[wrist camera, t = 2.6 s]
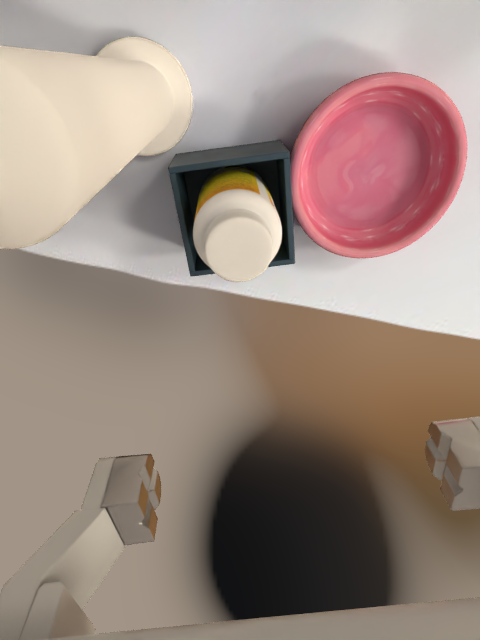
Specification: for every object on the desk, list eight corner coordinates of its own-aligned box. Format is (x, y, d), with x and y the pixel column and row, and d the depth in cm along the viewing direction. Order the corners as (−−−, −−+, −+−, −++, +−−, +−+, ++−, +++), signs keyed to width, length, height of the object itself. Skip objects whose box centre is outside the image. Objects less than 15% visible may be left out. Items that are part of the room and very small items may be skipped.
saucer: (295, 65, 27) (302, 65, 24) (472, 78, 27) (499, 79, 25) (275, 241, 33) (279, 256, 31) (418, 247, 34) (435, 262, 31)
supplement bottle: (184, 201, 31) (168, 252, 22) (233, 146, 29) (237, 179, 20) (235, 248, 33) (239, 311, 24) (284, 199, 31) (308, 249, 22)
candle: (214, 106, 28) (183, 220, 7) (145, 174, 30) (-42, 422, 9) (137, 8, 25) (-365, -353, 4) (67, 93, 27) (-492, 174, 6)
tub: (175, 153, 29) (167, 167, 25) (280, 139, 29) (289, 151, 25) (194, 251, 34) (190, 276, 29) (286, 240, 33) (295, 263, 29)
